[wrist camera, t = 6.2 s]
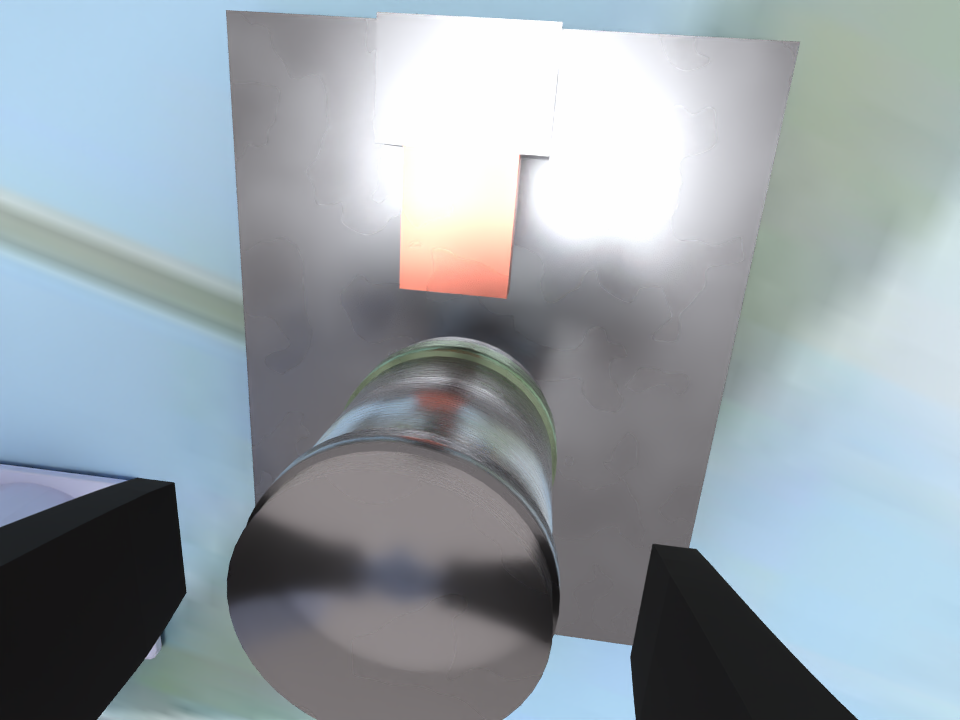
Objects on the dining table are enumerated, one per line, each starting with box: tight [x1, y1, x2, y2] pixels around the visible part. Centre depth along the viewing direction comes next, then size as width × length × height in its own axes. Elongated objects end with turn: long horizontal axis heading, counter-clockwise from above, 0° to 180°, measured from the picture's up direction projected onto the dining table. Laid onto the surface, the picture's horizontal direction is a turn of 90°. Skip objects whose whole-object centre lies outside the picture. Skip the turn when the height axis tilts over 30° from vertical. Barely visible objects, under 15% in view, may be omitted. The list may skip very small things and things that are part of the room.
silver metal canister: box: [227, 337, 560, 720], centre depth 11 cm, size 5×5×6 cm
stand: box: [226, 10, 800, 645], centre depth 15 cm, size 14×18×7 cm
